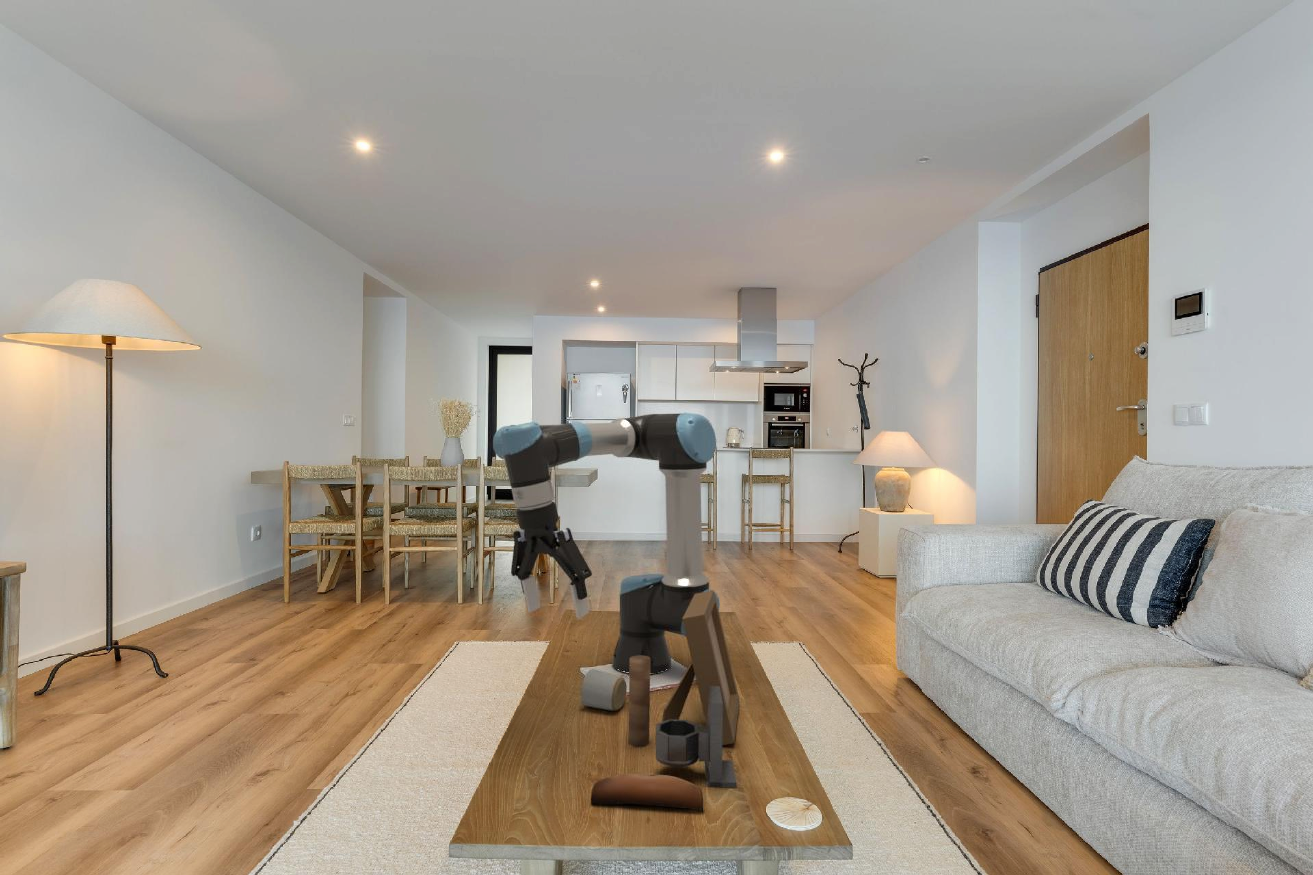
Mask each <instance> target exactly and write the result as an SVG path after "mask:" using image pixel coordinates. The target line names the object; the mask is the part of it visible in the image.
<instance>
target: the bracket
mask: <svg viewBox="0 0 1313 875" xmlns="http://www.w3.org/2000/svg"><path fill="white" fill-rule="evenodd" d="M722 725H723V702H722V696H721V691H720V686H708V725H707V724H698V723H695V722H692V721H690V720H687V719H679V720H676V719H668V720H666V721H663V722H662V721H660V722H658V723H656V725H655V760H656V761H657V762H658V763H660V764H662V765H664V766H667V767H671V768H684V767H690V766H692V765H694V764H695V763H698V762H700V763H704V764H705V765H704V774H705V783H706V787H707V788H737V786H738V784H737V783H738V782H737V778H736V773H735V766H734V761H733V760H726V759H723V745H722Z"/></svg>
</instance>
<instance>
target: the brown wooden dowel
mask: <svg viewBox="0 0 1313 875" xmlns="http://www.w3.org/2000/svg"><path fill="white" fill-rule="evenodd" d="M628 675H629V676H628V677H629V678H628V679H629V680H628V730H627V733H628V738H627V739H628V740H627V743H628V745H630V746H632V747H638V748H640V747H641V748H643V747H645V746H648V745H649V743H650V717H651V716H650V712H651V710H650V708H651V702H650V700H651V698H650V697H651V674H650V657H648V656H642V655H637V656H632V657H630V667H629V674H628Z"/></svg>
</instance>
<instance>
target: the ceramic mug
mask: <svg viewBox="0 0 1313 875" xmlns="http://www.w3.org/2000/svg"><path fill="white" fill-rule="evenodd" d="M580 689H581V690H580V701H581V704H582V705H583V706H585V707H591V708H595V709H602V710H606V711H612V712H613V711H618V710H620V709H621V708H622V707H623V705H624V704H625V700H626V698H627V696H626V695H627V691H628V690H627V689H628V686H627V682H626V680H625V678H624V677H622V676H621V675H619V674H618V675H617V674H614V673H610V672H605V671H602V670H597V669H593V668H592V669H589V670H588V671H587V672H586V674H585V676H584V678H583V681H582V683H581V688H580Z"/></svg>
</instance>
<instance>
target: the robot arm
mask: <svg viewBox="0 0 1313 875" xmlns="http://www.w3.org/2000/svg"><path fill="white" fill-rule="evenodd" d="M492 446H493V447H492V448H493V451H494V453H495V455H496V456H497V457H498V458H499V459H501V460H504V462H505V467H506V472H507V475H508V480H509V483H510V487H511V494H512V498H513V503H514V507H515V508H517V510H516V512H515V514H516V518H517V522H518V527H519V529H518V530H514V531H513V541H514V542H513V543H514V545H513V550H512V561H511V568H510V569H511V570H510V574H511V576H512V577H515V576H516V577H517V578H518V580H520V581H519V582H520V584H521V589H522V593H523V595H524V598H525V603H526V607H527V611H528V613H533V612H534V611H537V610H538V609H541V608H542V606H541V601H540V595H539V592H538V587H537V582H536V577H535V575H533V574H534V572H533V569H534V567H535V564H536V562H537V559H538V556H539V555H540V554H543V555H548V556H549V557H550V558H553V559H554V560H555V562H556V563H557V564H558V566H559V567H560V568H561V570H562V571H563V572H564V574H566V575H567V577H568V578H569V579H570V581H571V582H570V583H569V588H570V593H571V598H572V603H573V608H574V613H575V617H576V619H580V618H582V617H584V616H586V615H588V614H589V613H590V609H589V604H588V599H587V597H588V590H587V586H586V585H587V584H586V579H588V578H590V577H592V576H593V572H592V570H591V568H590V567H589V565H588V562H587V561H586V559H585V558H584V556H583V554H582V553H581V550H580V549H579V547H578V545H577V544H576V542H575V540H574V538H573V534H572V531H571V529H570V527H566V528H563V529H561V530H559V529H558V526H557V523H558V521H559V519H560V517H559V514H558V508H557V504H556V503H555V502H554V500H555V492H554V488H553V485H552V484H553V483H552V478H551V474H550V468H551V469H552V468H554V467H557V466H560V465H564V464H567V463H571V462H577V461H578V460H581V459H582V458H584V457H591V456H604V455H605V456H606V455H612V456H614V457H616V458H635V459H641V460H648V461H658V471H660V472H661V473H662V474H663V475H664V477H665V513H666V514H665V516H666V551H667V552H666V553H667V555H666V557H667V558H666V559H667V572H666V573H667V574H666V573H665V574H662V573H648V574H637V575H633V576H632V575H631V576H628V577H624V578H623V579H622V580H621V582H620V591H619V592H620V593H619V636H618V639H617V642H616V645H615V647H614V652H613V655H612V657H611V658H612V659H611V660H612V664H611V665H612V668H613V667H615V668H616V669H619V670H620V671H625V672H629V667H630V657H632V656H637V655H642V656H648V657H650V673H657V674H659V673H658V672H661V671H664V672H666V671H667V670H666V669H668V670H670V668H671V667H672V656H671V653H670V650H669V647H668V646H669V645H668V642H667V640H666V636H665V634H666V632H667V633H668V632H669V633H671V634H672V633H673V634H677V635H681V636H684V637H685V638H686V633H685V629H684V625H683V620H682V618H683V616H684V614H685V612H686V610H687V608H688V606H689V605H690V603H691V601H692V599H693V597H694V595H695V594H697V593H702V592H707V591H712V590H713V589H710V579H709V577H708V576H707V575H706V574H705V573H704V570H703V569H704V568H703V532H702V530H703V527H702V526H703V524H702V489H701V488H702V486H701V485H702V483H701V482H702V481H701V479H702V478H701V476H702V474H703V473H704V472H705V471H706V470H707V463H708V462H710V461H711V460H712V459H713V458H714V456H715V452H716V448H717V438H716V433H715V429H714V428H713V425H712V423H710V421H709V419H708V418H706V416H704V415H702V414H699V413H691V412H682V413H681V412H680V413H650V414H644V415H643V414H642V415H638V416H632V417H624V418H616V419H613V420H612V421H611V422H604V423H603V422H601V423H600V422H596V423H595V422H594V423H582V422H579V421H575V422H574V421H573V422H566V423H561V424H560V423H559V424H558V423H557V424H539V423H538V422H536V421H531V422H525V423H520V424H511V425H505V426H504V425H503V426H502V427H500V428H499V429H498V430H497V431H496V432H495V434H494V435H493V439H492ZM714 593H715V597H716V602H717V606H718V610H719V611H720V605H721V604H720V599H719V596H718V594H717V592H716V591H714ZM615 668H614V669H615ZM616 669H615V670H616ZM665 670H666V671H665ZM620 671H619V672H620ZM661 673H662V672H661Z"/></svg>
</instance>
